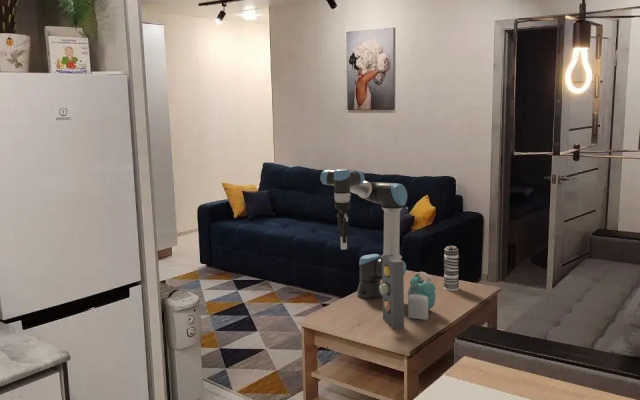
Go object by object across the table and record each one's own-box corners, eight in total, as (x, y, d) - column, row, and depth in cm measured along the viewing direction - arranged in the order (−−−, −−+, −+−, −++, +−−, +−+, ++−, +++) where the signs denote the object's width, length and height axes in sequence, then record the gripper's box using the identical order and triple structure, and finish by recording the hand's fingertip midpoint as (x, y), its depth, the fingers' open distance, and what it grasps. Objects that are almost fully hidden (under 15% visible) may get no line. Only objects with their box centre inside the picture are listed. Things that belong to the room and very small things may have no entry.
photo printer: (429, 317, 304) (429, 294, 302) (427, 320, 300) (427, 296, 298) (409, 315, 308) (408, 292, 306) (407, 318, 304) (406, 295, 302)
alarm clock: (405, 306, 322) (404, 270, 319) (420, 303, 326) (420, 267, 322) (423, 316, 306) (422, 278, 303) (438, 313, 310) (438, 275, 307)
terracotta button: (392, 308, 300) (391, 299, 299) (395, 311, 295) (395, 302, 294) (384, 309, 299) (384, 299, 298) (388, 312, 294) (388, 303, 293)
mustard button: (391, 273, 297) (391, 264, 296) (395, 276, 292) (395, 266, 291) (384, 274, 296) (383, 264, 295) (387, 277, 291) (387, 267, 290)
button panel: (393, 317, 306) (392, 254, 300) (404, 327, 292) (403, 261, 287) (382, 318, 304) (381, 255, 299) (393, 328, 291) (392, 262, 286)
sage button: (387, 291, 298) (386, 282, 297) (390, 294, 293) (390, 285, 292) (379, 292, 297) (379, 283, 296) (383, 295, 292) (383, 285, 291)
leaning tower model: (462, 288, 347) (463, 246, 343) (451, 292, 342) (451, 249, 338) (451, 285, 355) (451, 244, 351) (440, 288, 350) (439, 246, 346)
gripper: (354, 202, 284) (355, 251, 288) (345, 198, 296) (347, 245, 300) (339, 204, 282) (340, 252, 286) (331, 199, 295) (332, 246, 298)
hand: (343, 248), depth 293 cm, fingers closed
